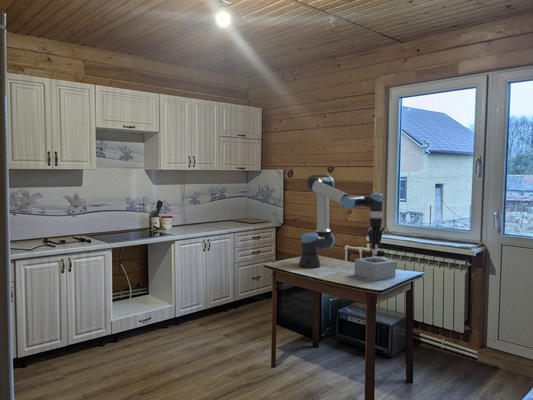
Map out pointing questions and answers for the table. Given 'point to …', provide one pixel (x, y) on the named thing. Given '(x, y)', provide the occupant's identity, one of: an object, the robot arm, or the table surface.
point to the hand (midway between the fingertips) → (374, 254)
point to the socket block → (375, 268)
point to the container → (380, 254)
